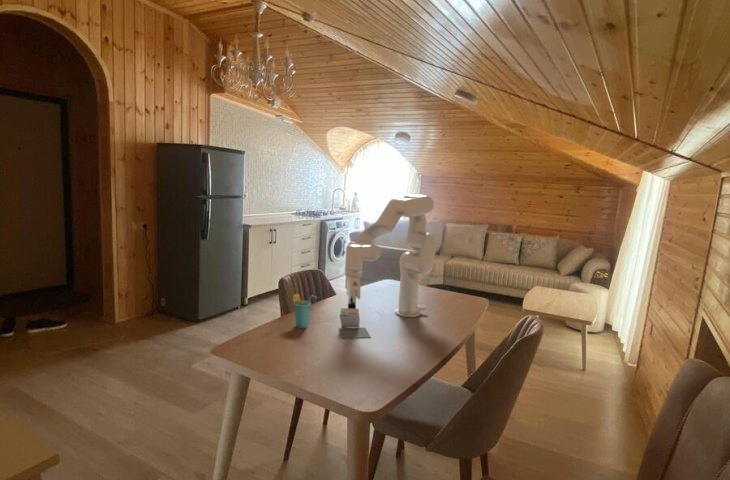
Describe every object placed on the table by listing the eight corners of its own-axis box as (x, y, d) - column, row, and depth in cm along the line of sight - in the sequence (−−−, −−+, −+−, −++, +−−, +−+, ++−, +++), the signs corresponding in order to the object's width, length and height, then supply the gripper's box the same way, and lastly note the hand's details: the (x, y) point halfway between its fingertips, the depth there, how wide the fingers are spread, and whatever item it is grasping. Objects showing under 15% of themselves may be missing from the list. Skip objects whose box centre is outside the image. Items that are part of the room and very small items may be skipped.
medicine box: (360, 320, 178) (358, 308, 172) (359, 328, 174) (357, 316, 168) (342, 319, 178) (340, 307, 172) (341, 327, 175) (339, 315, 169)
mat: (365, 328, 176) (365, 327, 176) (370, 337, 165) (370, 337, 165) (338, 329, 173) (338, 328, 173) (342, 338, 162) (342, 338, 162)
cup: (321, 326, 175) (323, 294, 173) (312, 332, 168) (313, 298, 166) (295, 320, 180) (296, 289, 178) (285, 326, 173) (286, 293, 171)
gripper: (365, 276, 167) (363, 317, 169) (358, 268, 181) (356, 307, 184) (347, 276, 165) (345, 318, 168) (342, 268, 180) (340, 307, 182)
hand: (351, 312), depth 176 cm, fingers closed
